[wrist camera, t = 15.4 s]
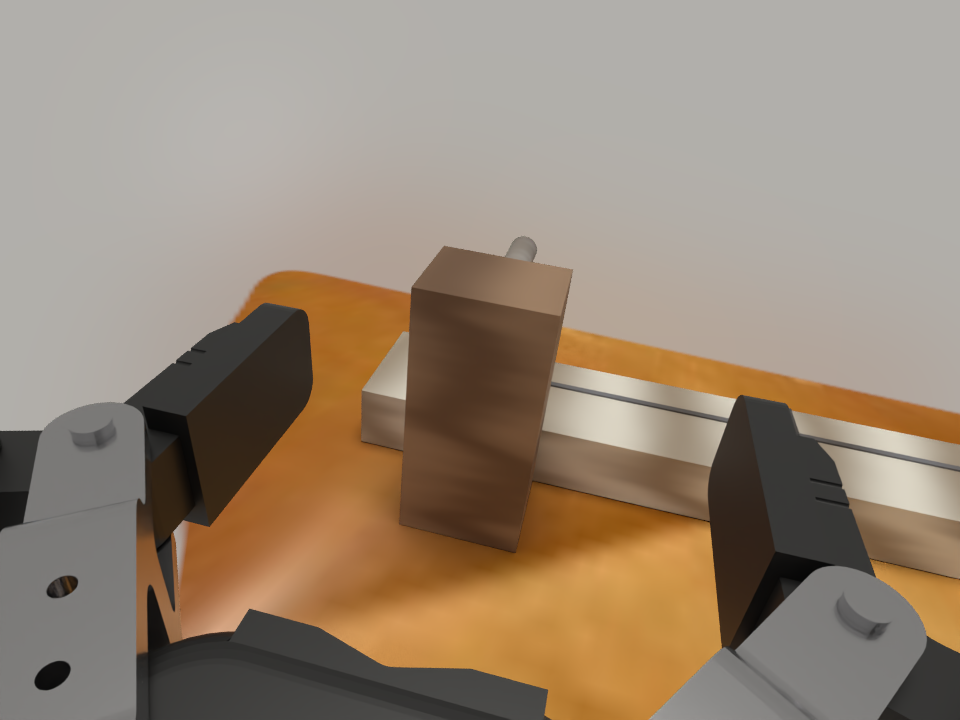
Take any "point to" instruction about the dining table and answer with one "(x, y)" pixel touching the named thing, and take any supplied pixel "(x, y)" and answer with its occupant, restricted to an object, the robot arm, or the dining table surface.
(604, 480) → the batten
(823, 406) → the dining table surface
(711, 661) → the robot arm
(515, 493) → the upright wooden pillar
